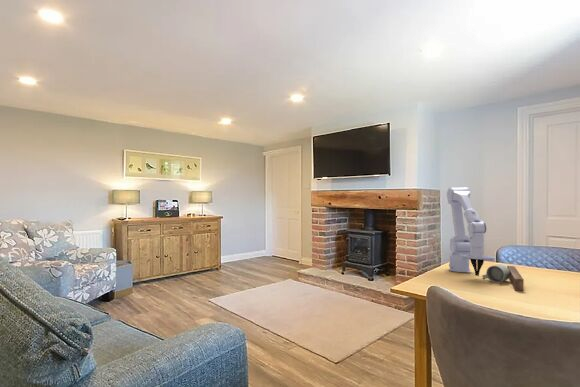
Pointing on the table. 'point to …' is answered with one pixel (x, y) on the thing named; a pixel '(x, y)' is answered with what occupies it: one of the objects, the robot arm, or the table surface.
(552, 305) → the table surface
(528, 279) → the table surface
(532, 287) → the table surface
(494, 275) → the ceramic mug
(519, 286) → the walnut board
